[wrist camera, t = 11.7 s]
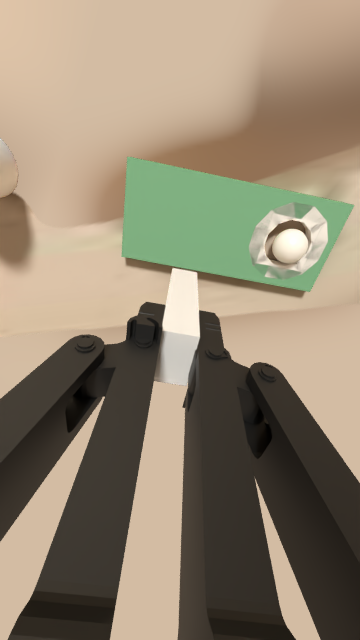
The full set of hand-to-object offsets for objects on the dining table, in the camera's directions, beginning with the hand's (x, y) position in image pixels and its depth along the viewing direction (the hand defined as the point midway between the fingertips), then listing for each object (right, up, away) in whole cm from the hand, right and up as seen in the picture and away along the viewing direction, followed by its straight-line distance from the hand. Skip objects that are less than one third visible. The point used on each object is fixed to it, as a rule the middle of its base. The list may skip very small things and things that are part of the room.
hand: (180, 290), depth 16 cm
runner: (+7, +11, +19) cm, 23 cm away
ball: (+15, +8, +18) cm, 24 cm away
